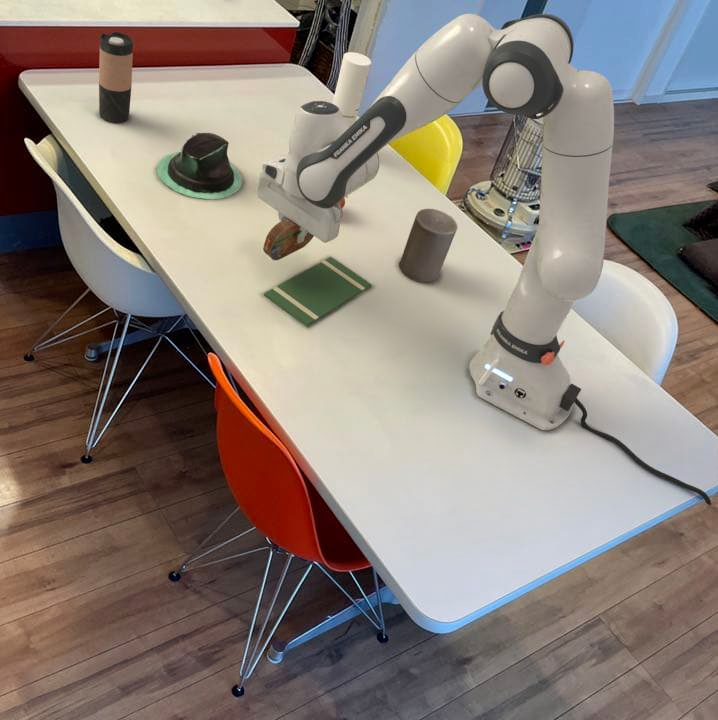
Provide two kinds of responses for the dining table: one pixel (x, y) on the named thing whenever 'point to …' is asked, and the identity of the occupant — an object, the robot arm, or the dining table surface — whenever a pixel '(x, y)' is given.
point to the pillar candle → (427, 245)
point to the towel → (317, 291)
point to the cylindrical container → (351, 85)
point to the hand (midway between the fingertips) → (291, 236)
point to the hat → (201, 168)
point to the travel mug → (115, 76)
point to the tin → (284, 240)
